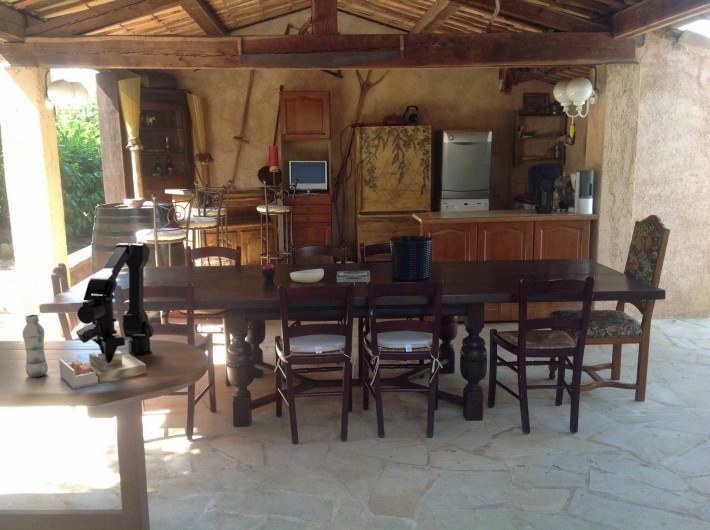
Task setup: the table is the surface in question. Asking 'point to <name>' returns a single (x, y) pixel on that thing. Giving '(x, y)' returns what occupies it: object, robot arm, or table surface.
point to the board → (119, 369)
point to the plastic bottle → (34, 347)
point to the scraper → (102, 362)
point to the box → (73, 380)
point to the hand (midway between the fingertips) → (107, 361)
